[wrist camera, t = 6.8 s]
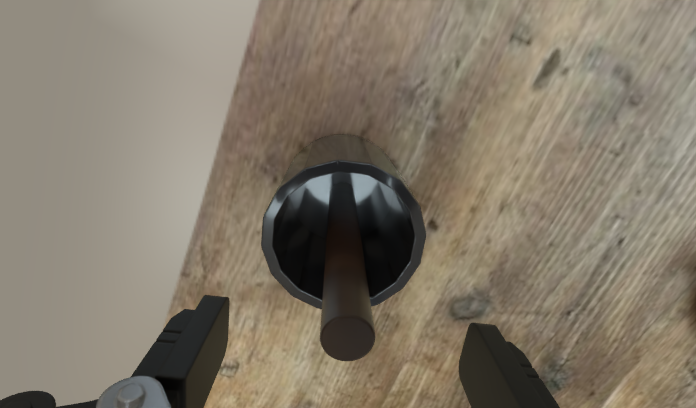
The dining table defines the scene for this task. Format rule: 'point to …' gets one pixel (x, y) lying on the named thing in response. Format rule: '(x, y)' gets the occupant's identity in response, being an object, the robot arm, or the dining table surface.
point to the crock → (312, 217)
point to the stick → (345, 282)
